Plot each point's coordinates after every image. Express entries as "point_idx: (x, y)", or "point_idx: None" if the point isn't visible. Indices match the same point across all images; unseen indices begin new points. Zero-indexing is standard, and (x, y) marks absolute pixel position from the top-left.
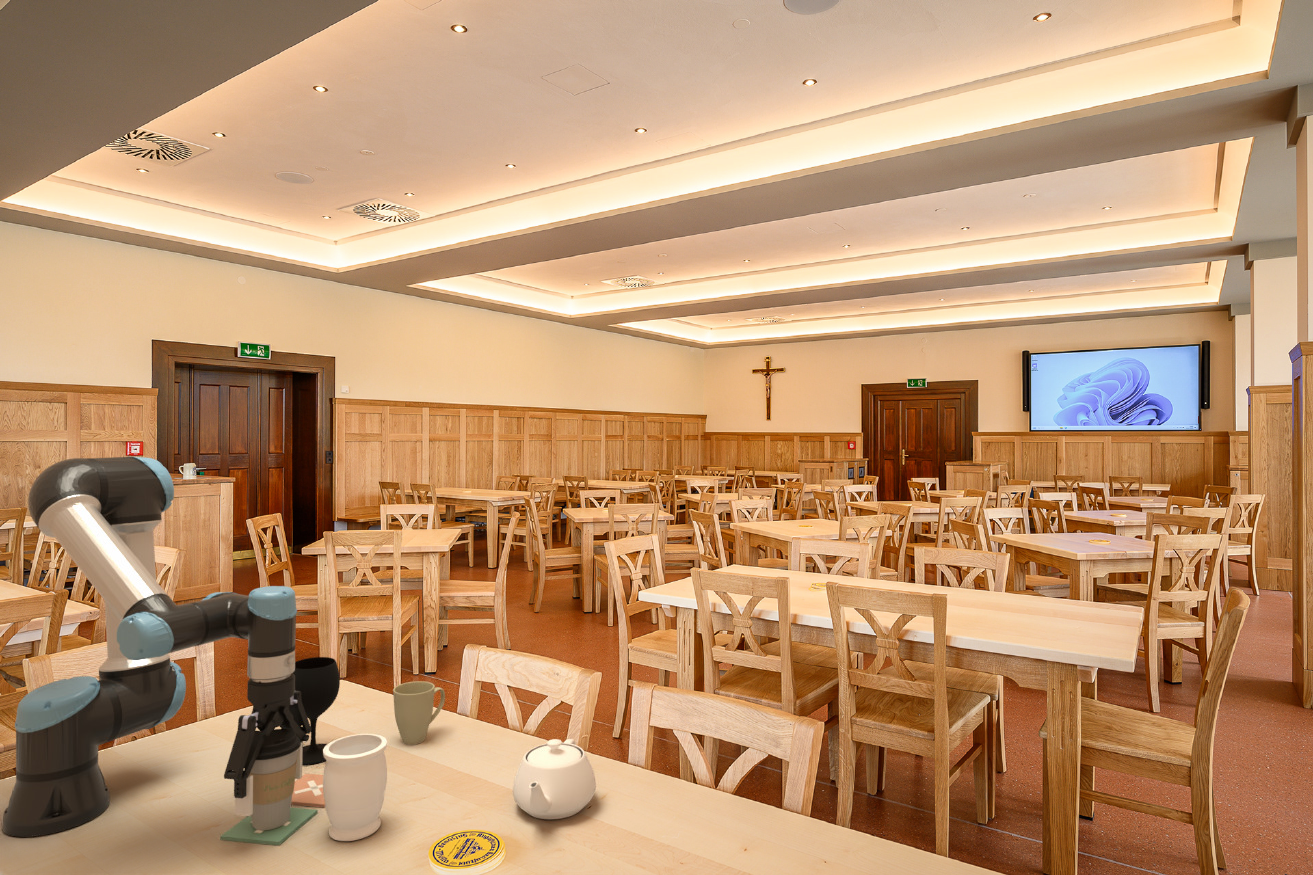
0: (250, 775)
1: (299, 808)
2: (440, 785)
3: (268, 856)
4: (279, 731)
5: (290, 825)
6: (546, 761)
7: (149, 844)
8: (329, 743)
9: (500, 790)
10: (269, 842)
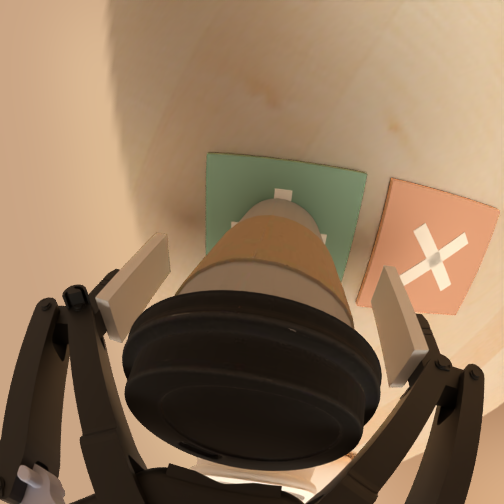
0: (119, 336)
1: (343, 267)
2: (394, 405)
3: (175, 277)
4: (333, 438)
5: None
6: None
7: (175, 18)
8: (258, 481)
9: (361, 439)
10: None
